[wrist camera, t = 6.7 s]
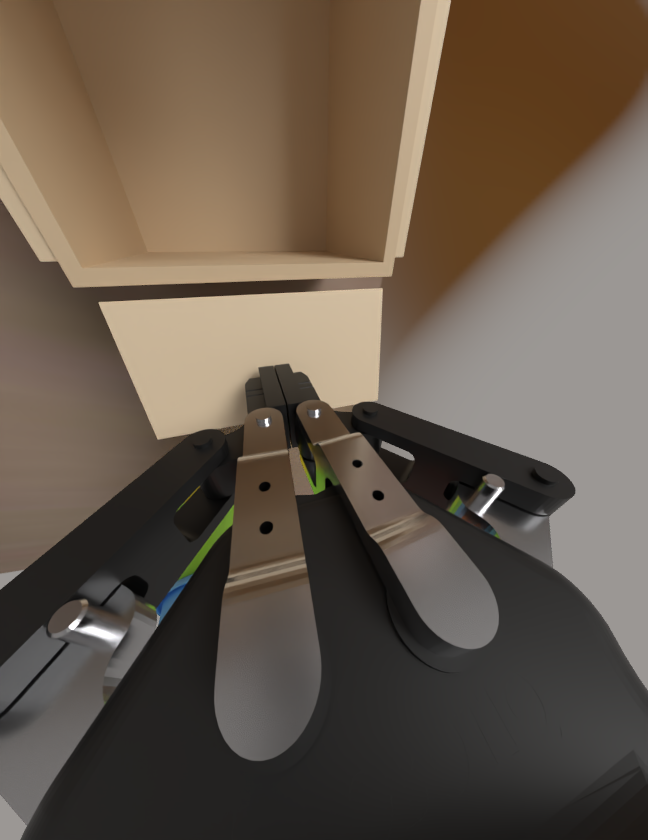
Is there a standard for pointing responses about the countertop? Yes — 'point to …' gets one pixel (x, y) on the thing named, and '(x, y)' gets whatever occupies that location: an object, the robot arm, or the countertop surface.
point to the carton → (215, 135)
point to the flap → (244, 351)
